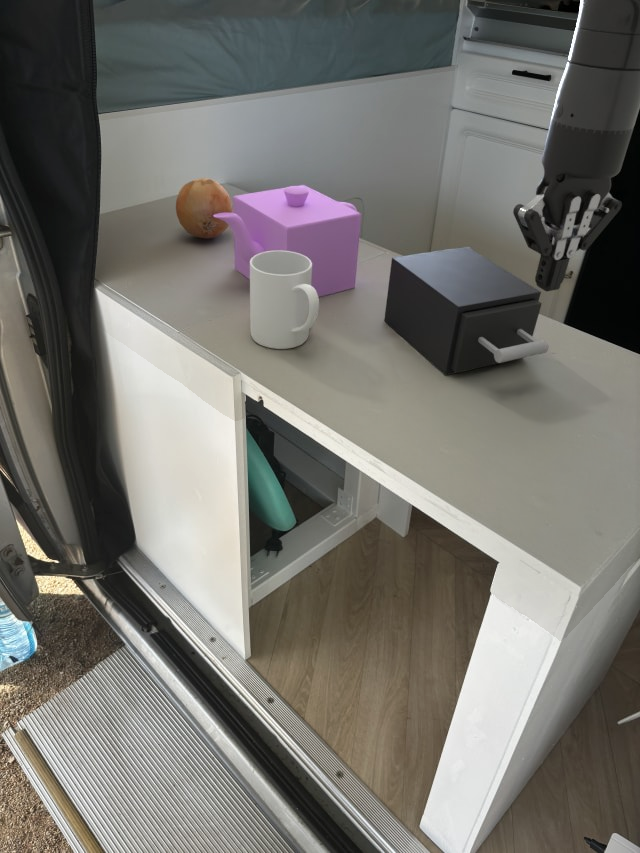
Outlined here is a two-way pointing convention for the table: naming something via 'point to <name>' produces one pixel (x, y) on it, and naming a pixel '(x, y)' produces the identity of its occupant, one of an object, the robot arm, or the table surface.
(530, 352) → the drawer
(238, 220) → the teapot
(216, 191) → the onion
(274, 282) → the mug
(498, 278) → the cabinet
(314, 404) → the table surface
